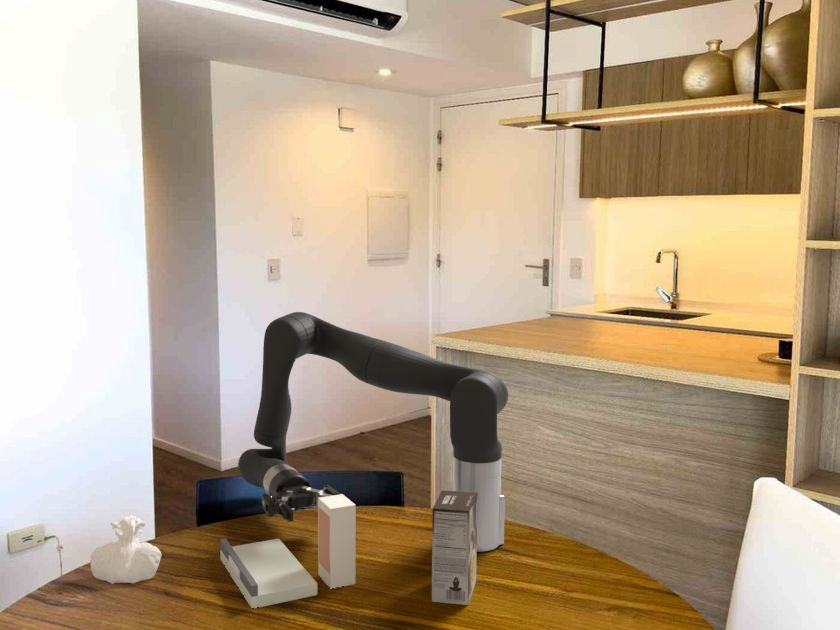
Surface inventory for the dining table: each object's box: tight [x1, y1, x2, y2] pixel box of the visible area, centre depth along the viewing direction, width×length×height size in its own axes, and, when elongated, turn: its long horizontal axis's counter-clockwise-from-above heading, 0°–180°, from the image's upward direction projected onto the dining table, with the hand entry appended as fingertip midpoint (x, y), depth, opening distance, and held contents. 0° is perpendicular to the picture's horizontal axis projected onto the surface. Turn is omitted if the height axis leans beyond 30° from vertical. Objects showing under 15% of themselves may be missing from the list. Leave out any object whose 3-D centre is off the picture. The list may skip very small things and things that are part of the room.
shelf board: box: [219, 538, 318, 609], centre depth 137 cm, size 11×21×4 cm, turn 27°
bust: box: [89, 514, 162, 584], centre depth 137 cm, size 12×8×11 cm
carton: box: [317, 493, 357, 590], centre depth 136 cm, size 4×6×14 cm
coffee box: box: [431, 490, 478, 606], centre depth 131 cm, size 9×6×16 cm
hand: (313, 512), depth 146 cm, fingers open, 8 cm apart
